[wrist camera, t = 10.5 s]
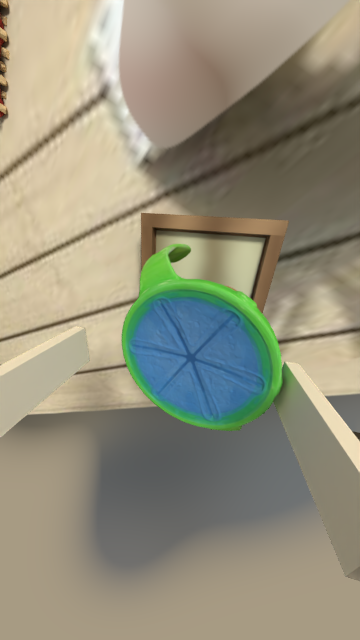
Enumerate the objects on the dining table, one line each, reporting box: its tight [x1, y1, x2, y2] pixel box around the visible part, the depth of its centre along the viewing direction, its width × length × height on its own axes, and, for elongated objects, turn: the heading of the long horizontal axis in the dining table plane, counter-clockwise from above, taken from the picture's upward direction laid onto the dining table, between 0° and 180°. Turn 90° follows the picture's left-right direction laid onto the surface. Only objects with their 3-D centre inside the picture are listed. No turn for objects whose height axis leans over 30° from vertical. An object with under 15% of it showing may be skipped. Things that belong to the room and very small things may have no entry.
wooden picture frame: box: [141, 213, 289, 313], centre depth 21 cm, size 14×20×4 cm
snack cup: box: [122, 244, 283, 431], centre depth 15 cm, size 16×10×10 cm
